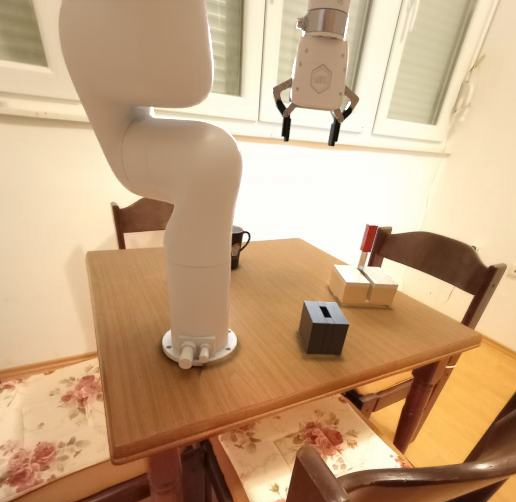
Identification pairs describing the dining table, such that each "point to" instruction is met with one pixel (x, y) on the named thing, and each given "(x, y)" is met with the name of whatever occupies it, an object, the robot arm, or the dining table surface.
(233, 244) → the coffee mug
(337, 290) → the beige rectangular box
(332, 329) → the knife block
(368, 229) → the knife
